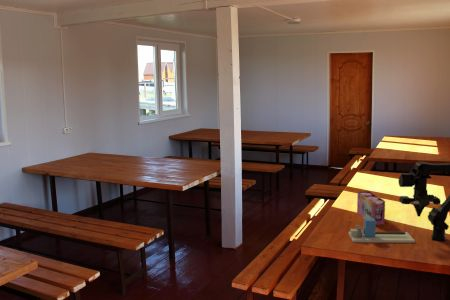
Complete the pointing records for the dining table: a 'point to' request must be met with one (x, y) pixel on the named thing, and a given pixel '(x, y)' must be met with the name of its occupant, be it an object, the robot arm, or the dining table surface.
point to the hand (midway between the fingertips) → (418, 216)
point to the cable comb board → (380, 236)
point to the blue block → (369, 227)
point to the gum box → (371, 207)
